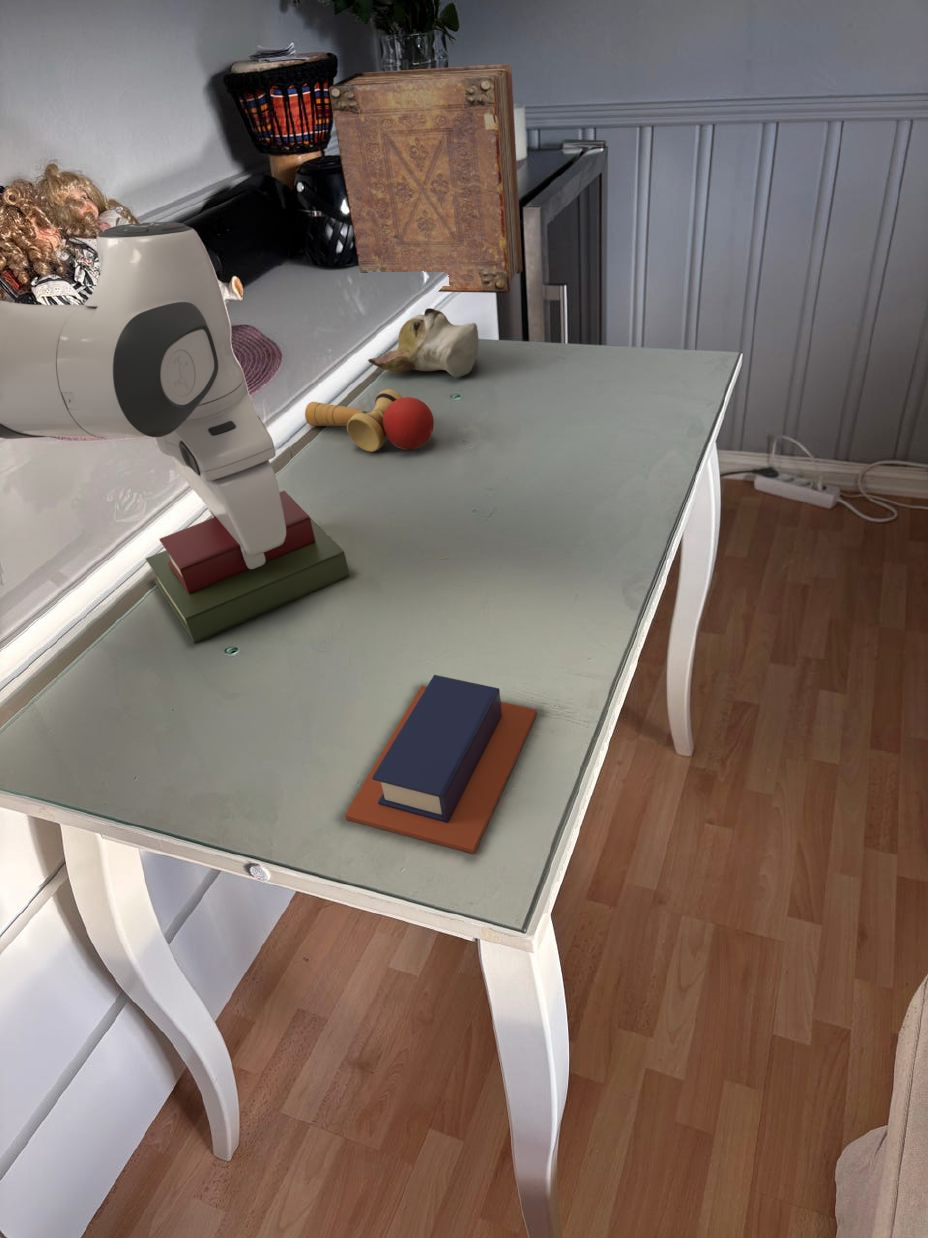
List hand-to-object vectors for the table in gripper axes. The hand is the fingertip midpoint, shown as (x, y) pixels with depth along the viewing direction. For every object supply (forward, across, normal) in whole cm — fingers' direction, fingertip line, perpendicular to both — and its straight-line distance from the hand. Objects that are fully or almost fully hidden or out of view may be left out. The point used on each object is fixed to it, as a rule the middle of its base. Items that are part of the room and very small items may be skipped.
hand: (241, 547), depth 88 cm
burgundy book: (+1, 0, 0) cm, 1 cm away
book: (+4, -58, +58) cm, 82 cm away
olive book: (+4, 0, 0) cm, 4 cm away
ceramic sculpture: (+4, -30, +39) cm, 49 cm away
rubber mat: (+4, +32, +3) cm, 33 cm away
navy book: (+3, +32, +3) cm, 32 cm away
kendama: (+4, -18, +23) cm, 30 cm away
